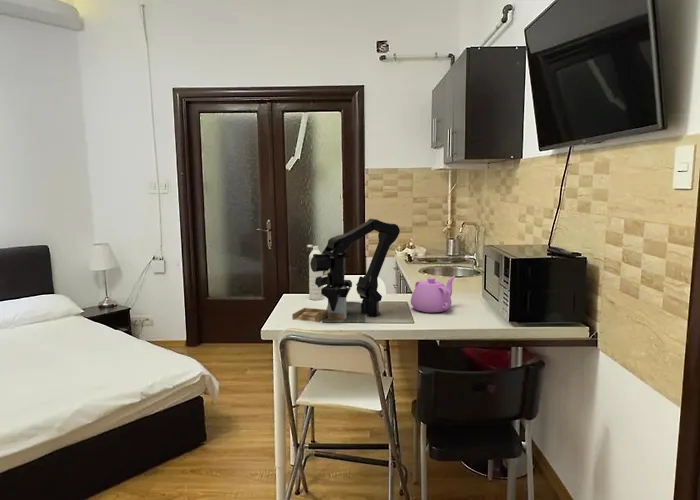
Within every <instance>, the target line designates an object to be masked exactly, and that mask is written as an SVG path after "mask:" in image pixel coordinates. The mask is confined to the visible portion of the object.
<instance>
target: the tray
mask: <svg viewBox="0 0 700 500" xmlns="http://www.w3.org/2000/svg"><path fill="white" fill-rule="evenodd" d="M304 312H318V313H319V315H317V316H316V320H305V319H299V316H301V314H303V313H304ZM326 318H328V309H326V308H325V309H324V308H311V307H303V308H301V309H300V310H297V311H295V312H294V313H292V320H294V321H303V322H312V323H313V322H314V323H319V322H321V321H323V320H324V319H326Z"/></svg>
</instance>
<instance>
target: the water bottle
mask: <svg viewBox="0 0 700 500" xmlns="http://www.w3.org/2000/svg"><path fill="white" fill-rule="evenodd" d="M306 247H307V248H313V249H312V250H311V251H310V254H309V256H308V264H309V265H308V269H309V270H308V271H309V274H308V276H309V278H308V281H309V282H308V288H309V292H308V293H309V295H308V296H309V297H308V298H309V300H312V301H319V300H320V301H322V300H323V299H324V296H323V295H322V294H321V289H322V288H323V287H324V285H323V286H321V287H319V288H318V286H317V285H316V284H315V280H316V278H317V277H320V276H321V277H324V271H318V272H313V271H312V269H311V264H310V262H311V259H312V258H313V254H322V252H321V251H320V249H319V245H313V244H306Z"/></svg>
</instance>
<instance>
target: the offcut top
mask: <svg viewBox="0 0 700 500" xmlns="http://www.w3.org/2000/svg"><path fill="white" fill-rule="evenodd" d="M317 315H319V313H318V312H304V313H303V314H301V317H311V318H316V316H317Z"/></svg>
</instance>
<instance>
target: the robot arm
mask: <svg viewBox="0 0 700 500" xmlns="http://www.w3.org/2000/svg"><path fill="white" fill-rule="evenodd" d="M374 231H375V232H377V233H378V235H377V237H378V243H377V244H376V245H377V246H376V249H375V251H374V253H373V256H372V259H371V260H370V263H369V266H368V269H367V272H366V273H365V275H364V276H359V278H358V281H357V283H356V284H355V286H356V293H357V294H358V295H359V298H360V300H362V301H361V303H360V313H361V314H365V315H366V317H375V318H376V317H377V316H378V315H380V314H381V312H380V310H379V309H380V305H379V303H380V302H381V301H382V298H383V296H382V295H381V293H379V291H378V287H379V282H378V278H379V276H380V273H381V270H382V267H383V265H384V263H385V260H386V258H387V255H388V252H389V249H390V246H391V245H393V243H395V241H396V240H397V239H398V237H399V235H400V233H401V232H400V231H401V229H400V226H399V225H398V224H396V223H390V222H384V221H382V220H379V219H377V218H369V219H368V220H367V221H365V222H364V223H363V222H362V223H361V224H359V225H358V226H357V227H355V228H353V229H351V230H349V231H348V232H346V233H343V234H338V235H336V236H333V237H330V238H329V239H328V240H327V245H326V247H324V249H323V251H322V252H321V254H313V258H312V259H311V262H310V264H311V269H312V271H313V272H318V271H323V272H326V271H329V272H327V275H326V276H323V277H321V276H320V277H317V278H316V280H315V284H316V285H317V286H318V288H319V287H321V286H323V288H322V289H321V294H322V295H323V297H325V298H326V299H327V302H328V301H329V304H330V307H331V310H332V311H335V308H336V305H337V302H338V299H339V297H345V298H346V299H347V297H348V295H349V293H350V291H351V288H352V287H353V281H352V280H351V279H345V275H346V274H347V271H345V259H349V258H350V255H348V254H347V252H346V251H347V250H348V249H349V248H350V247H351V246H352V244H353V243H355V242H357V241H358V240H360V239H361V238H363V237H364V236H366V235H369V233H372V232H374Z"/></svg>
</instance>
